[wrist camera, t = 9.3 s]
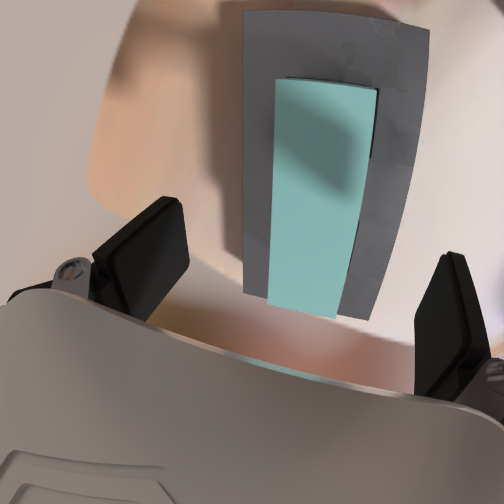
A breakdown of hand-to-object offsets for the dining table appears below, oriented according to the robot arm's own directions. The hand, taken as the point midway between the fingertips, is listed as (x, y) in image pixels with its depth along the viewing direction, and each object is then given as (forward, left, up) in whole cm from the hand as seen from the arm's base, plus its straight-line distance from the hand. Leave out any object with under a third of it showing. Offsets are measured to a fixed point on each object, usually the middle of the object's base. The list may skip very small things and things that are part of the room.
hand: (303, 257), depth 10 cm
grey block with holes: (+1, 0, -11) cm, 11 cm away
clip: (+1, 0, -11) cm, 11 cm away
